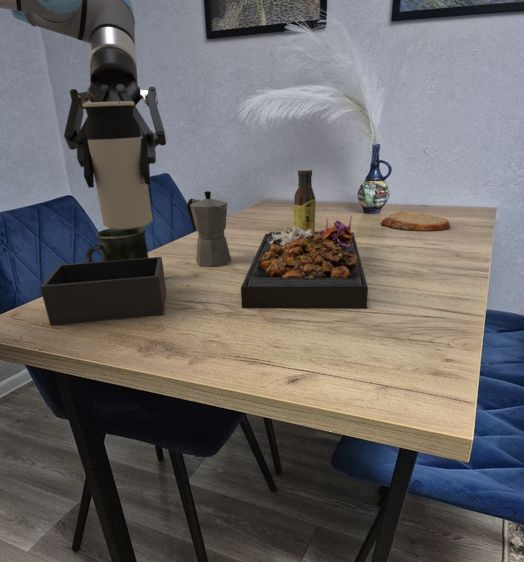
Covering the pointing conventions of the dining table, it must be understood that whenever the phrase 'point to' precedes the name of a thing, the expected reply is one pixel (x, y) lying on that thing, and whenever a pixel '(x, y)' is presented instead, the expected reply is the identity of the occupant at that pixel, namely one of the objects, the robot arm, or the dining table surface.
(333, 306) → the food platter
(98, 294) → the bin
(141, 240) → the mug
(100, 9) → the robot arm
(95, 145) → the travel mug
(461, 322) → the dining table surface
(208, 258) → the coffeepot
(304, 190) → the sauce bottle
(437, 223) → the bread slice
